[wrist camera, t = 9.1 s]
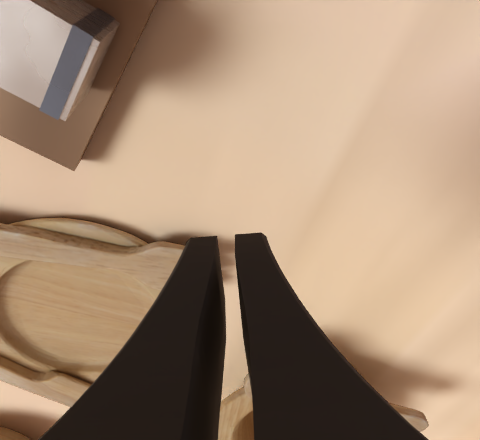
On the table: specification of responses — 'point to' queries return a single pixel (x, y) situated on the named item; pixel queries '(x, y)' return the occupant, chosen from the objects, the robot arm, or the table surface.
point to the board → (91, 107)
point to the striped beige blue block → (52, 51)
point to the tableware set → (88, 311)
